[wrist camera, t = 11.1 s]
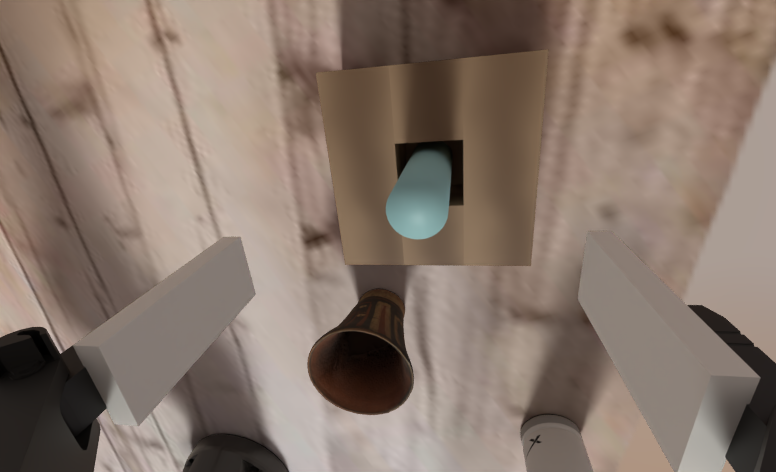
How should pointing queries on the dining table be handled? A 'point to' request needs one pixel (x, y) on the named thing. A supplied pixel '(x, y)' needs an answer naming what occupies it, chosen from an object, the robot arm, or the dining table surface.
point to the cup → (365, 358)
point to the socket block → (468, 146)
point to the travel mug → (553, 445)
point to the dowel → (422, 192)
